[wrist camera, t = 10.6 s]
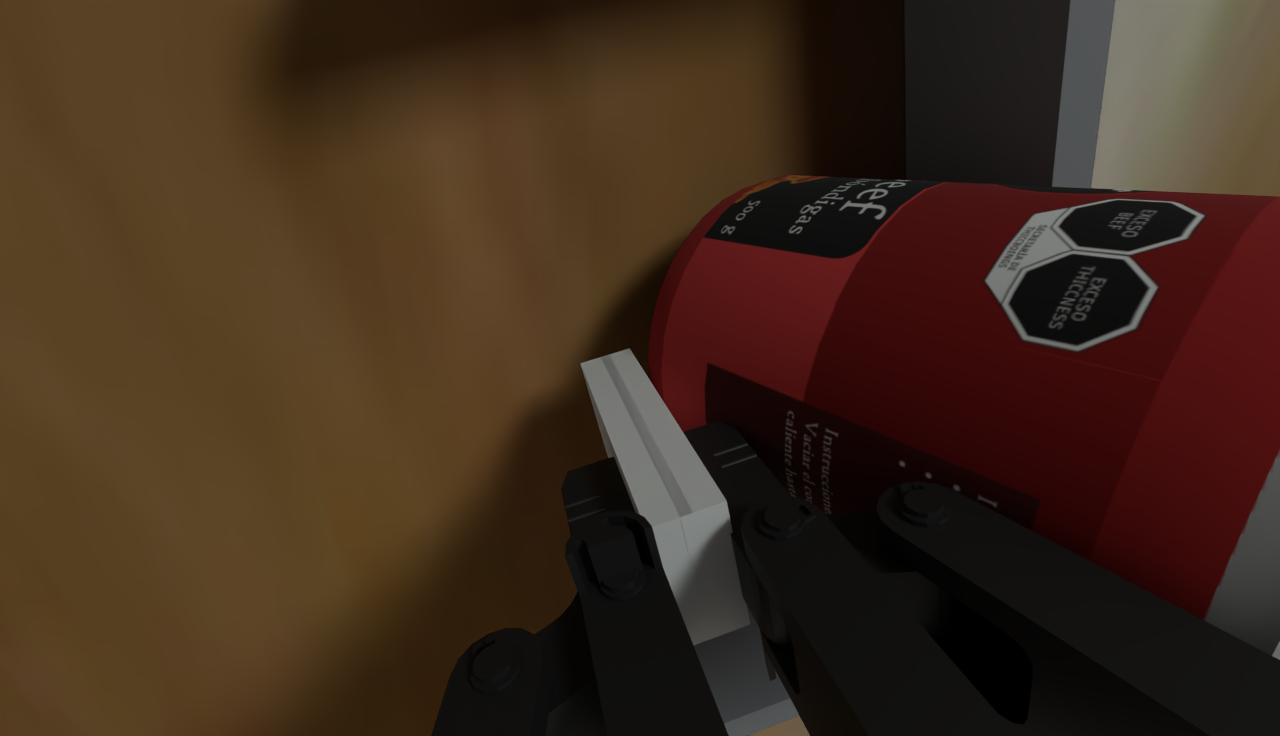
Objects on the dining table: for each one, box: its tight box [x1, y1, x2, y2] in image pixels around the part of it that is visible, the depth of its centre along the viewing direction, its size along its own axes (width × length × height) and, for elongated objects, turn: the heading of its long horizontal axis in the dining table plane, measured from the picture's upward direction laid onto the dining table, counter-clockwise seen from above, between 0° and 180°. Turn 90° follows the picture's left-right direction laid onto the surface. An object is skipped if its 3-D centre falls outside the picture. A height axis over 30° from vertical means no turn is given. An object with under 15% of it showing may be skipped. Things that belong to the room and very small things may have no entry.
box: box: [694, 0, 1115, 736], centre depth 15 cm, size 24×13×5 cm, turn 13°
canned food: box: [648, 175, 1280, 660], centre depth 12 cm, size 8×8×11 cm
